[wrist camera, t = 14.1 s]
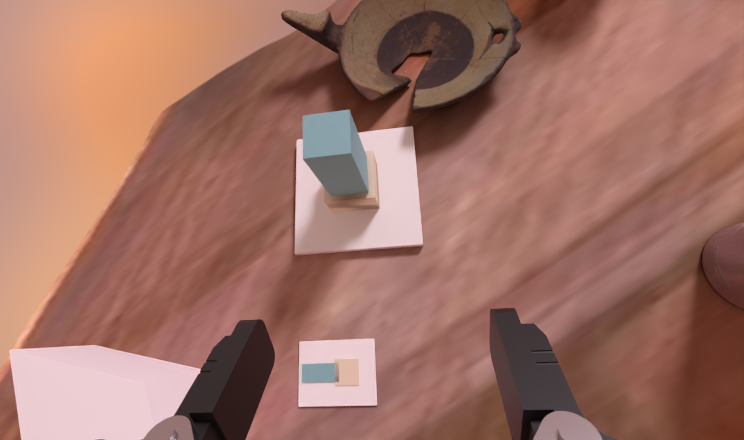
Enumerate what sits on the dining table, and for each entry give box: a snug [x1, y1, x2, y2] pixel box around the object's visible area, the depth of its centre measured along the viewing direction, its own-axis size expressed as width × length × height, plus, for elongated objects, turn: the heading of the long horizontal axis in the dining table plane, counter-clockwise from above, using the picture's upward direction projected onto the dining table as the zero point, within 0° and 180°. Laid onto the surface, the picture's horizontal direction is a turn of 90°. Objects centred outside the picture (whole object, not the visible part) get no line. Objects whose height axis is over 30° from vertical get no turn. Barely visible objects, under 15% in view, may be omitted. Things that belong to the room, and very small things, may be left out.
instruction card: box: [298, 338, 377, 407], centre depth 41 cm, size 9×7×1 cm
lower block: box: [324, 150, 380, 212], centre depth 45 cm, size 6×6×4 cm
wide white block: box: [9, 345, 201, 440], centre depth 38 cm, size 14×29×10 cm, turn 54°
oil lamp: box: [281, 0, 522, 113], centre depth 49 cm, size 22×30×8 cm
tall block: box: [303, 110, 369, 196], centre depth 38 cm, size 4×4×10 cm
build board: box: [295, 126, 423, 255], centre depth 47 cm, size 16×16×1 cm
